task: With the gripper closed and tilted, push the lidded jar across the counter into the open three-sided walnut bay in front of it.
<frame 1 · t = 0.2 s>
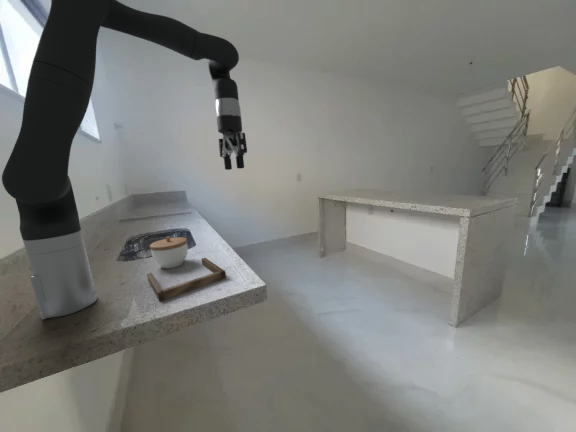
hand: (234, 169, 77), 29 cm above the worktop, tool pointing down, fingers open, 8 cm apart
walnut bay: (185, 278, 66), on the worktop
lidded jar: (172, 265, 77), on the worktop
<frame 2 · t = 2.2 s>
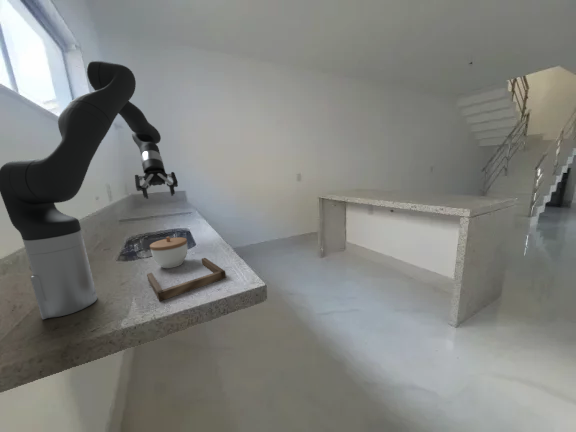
hand: (160, 196, 89), 21 cm above the worktop, tool tilted 40°, fingers open, 8 cm apart
nothing on the worktop moved.
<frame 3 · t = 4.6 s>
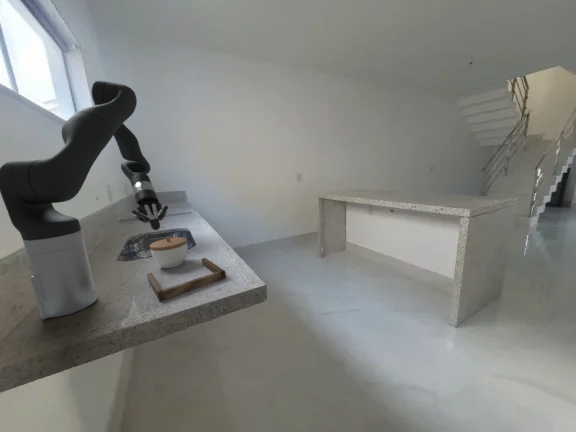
hand: (156, 228, 88), 10 cm above the worktop, tool tilted 45°, fingers closed
nothing on the worktop moved.
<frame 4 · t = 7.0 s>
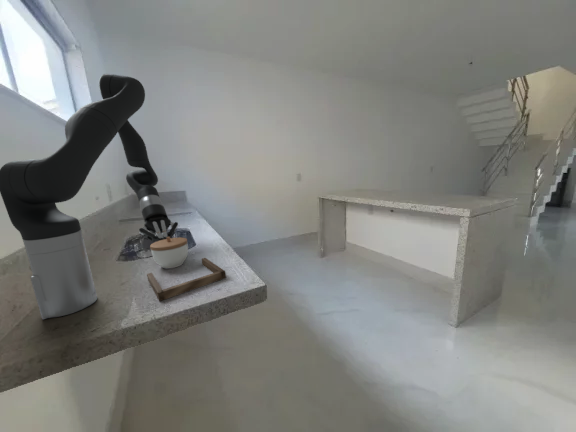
hand: (166, 248, 80), 4 cm above the worktop, tool tilted 45°, fingers closed
lidded jar: (172, 265, 77), on the worktop, touching gripper
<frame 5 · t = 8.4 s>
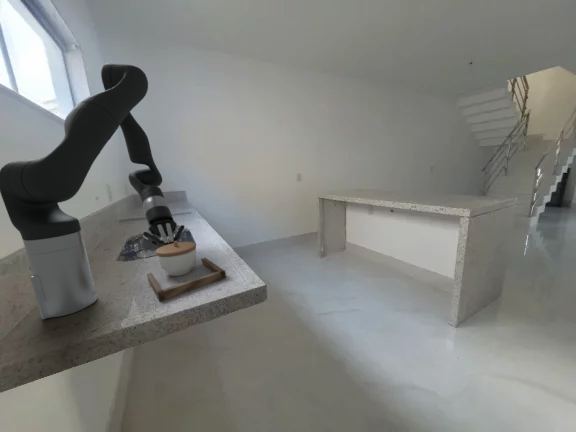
hand: (172, 254, 74), 4 cm above the worktop, tool tilted 45°, fingers closed
lidded jar: (180, 272, 71), on the worktop, touching gripper
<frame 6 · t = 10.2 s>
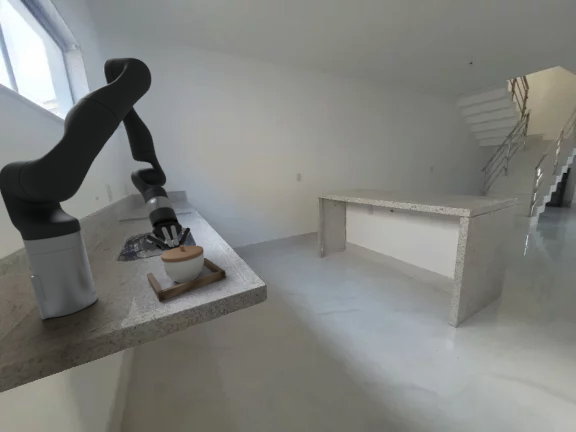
hand: (177, 258, 70), 4 cm above the worktop, tool tilted 45°, fingers closed
lidded jar: (186, 278, 66), on the worktop, touching gripper
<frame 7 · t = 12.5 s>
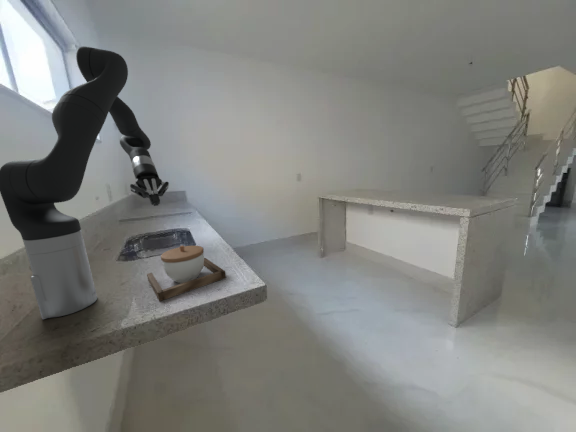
hand: (156, 204, 83), 19 cm above the worktop, tool tilted 45°, fingers closed
lidded jar: (186, 278, 66), on the worktop
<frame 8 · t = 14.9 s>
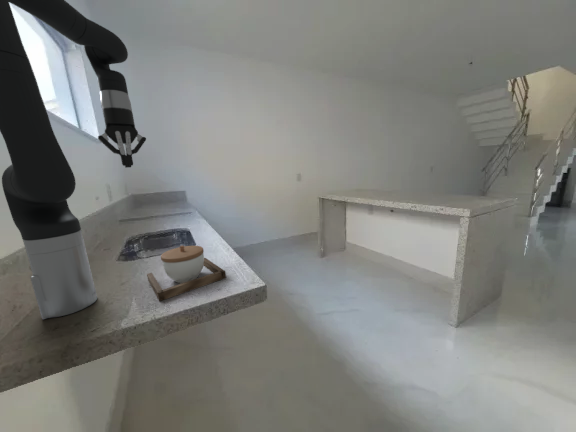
hand: (128, 167, 75), 32 cm above the worktop, tool pointing down, fingers closed
nothing on the worktop moved.
at the end: lidded jar 0.3 cm off-centre on the walnut bay, point 0.0 cm above the walnut bay's base; lidded jar tilted 0° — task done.
